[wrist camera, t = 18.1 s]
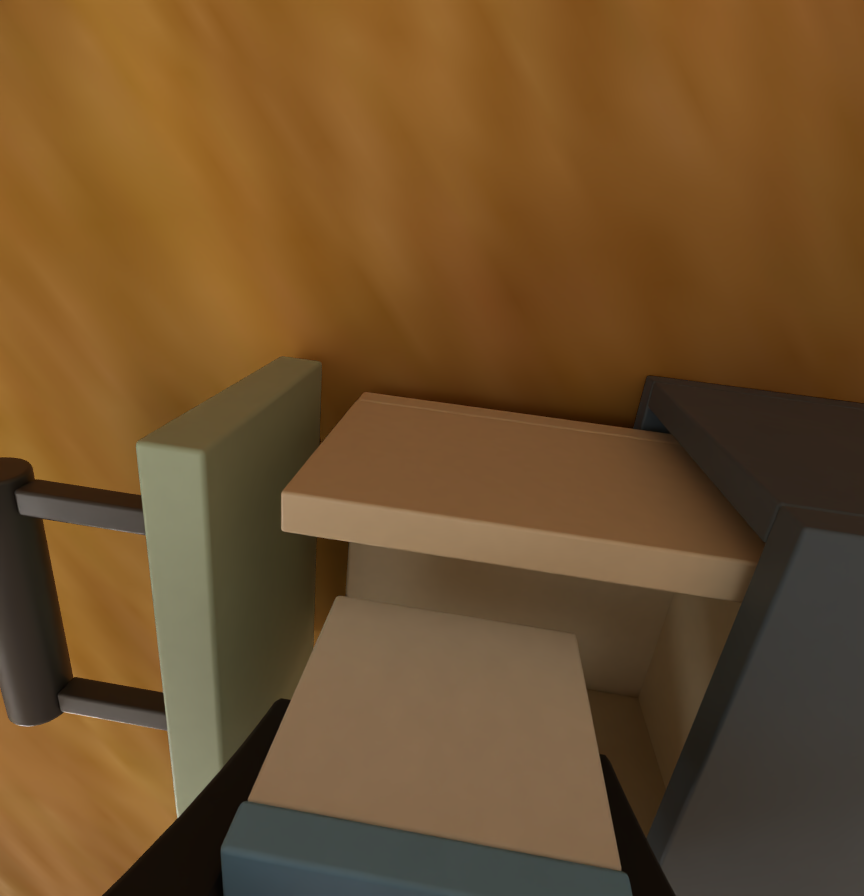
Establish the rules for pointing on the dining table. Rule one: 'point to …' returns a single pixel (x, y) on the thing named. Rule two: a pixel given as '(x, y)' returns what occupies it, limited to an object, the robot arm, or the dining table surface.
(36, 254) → the dining table surface
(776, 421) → the cabinet
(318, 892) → the blue tan box
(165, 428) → the drawer
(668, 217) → the dining table surface
